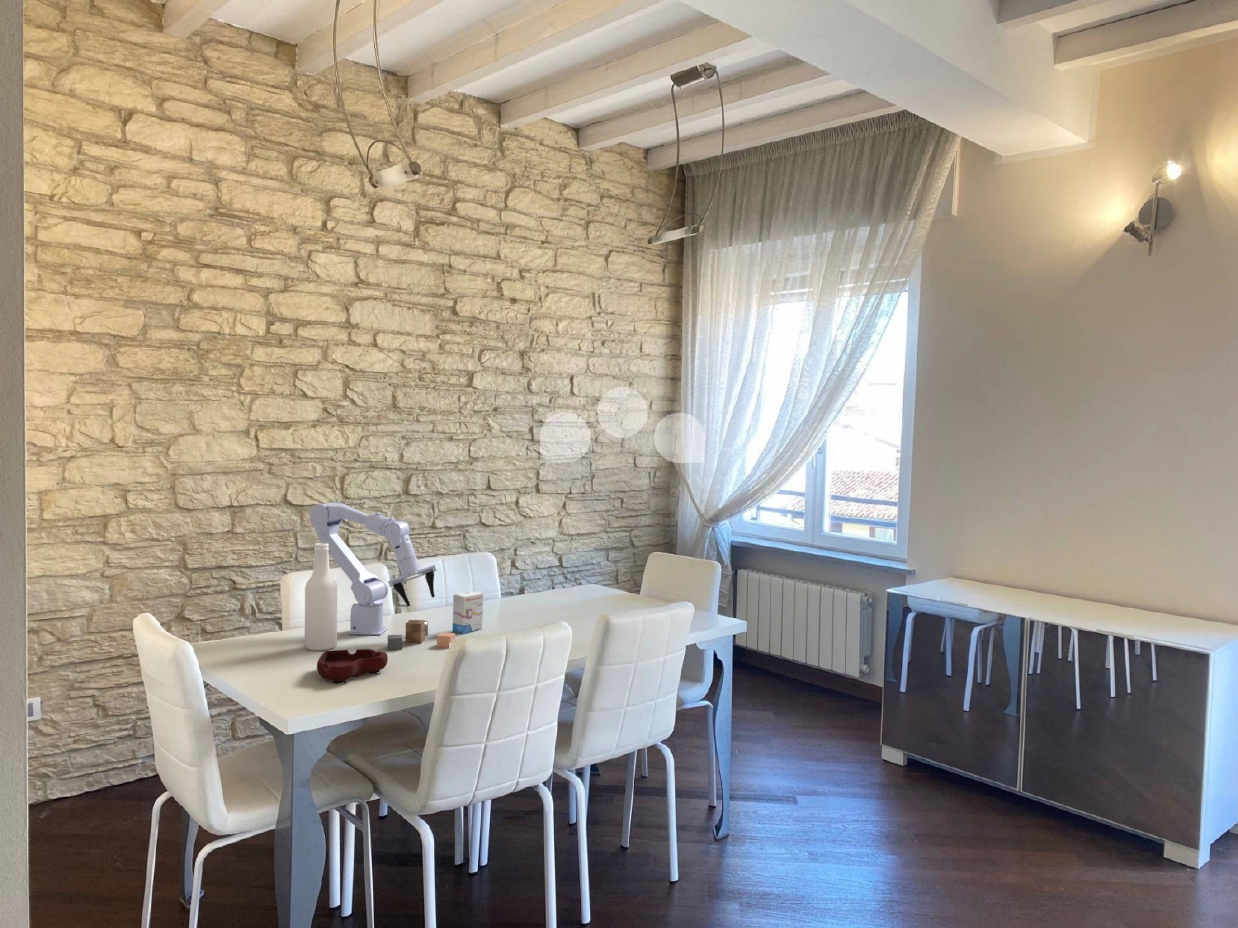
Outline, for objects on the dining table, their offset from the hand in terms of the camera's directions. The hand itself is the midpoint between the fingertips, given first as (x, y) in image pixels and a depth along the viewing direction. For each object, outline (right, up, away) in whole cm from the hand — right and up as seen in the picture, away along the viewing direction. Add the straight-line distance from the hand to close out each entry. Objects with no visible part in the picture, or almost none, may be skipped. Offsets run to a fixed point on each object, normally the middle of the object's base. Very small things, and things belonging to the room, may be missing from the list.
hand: (421, 601), depth 268 cm
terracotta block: (+9, -12, -8) cm, 17 cm away
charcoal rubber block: (-5, -12, -12) cm, 18 cm away
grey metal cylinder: (-1, -11, +4) cm, 12 cm away
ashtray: (-11, -13, -38) cm, 42 cm away
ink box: (+12, -11, +11) cm, 20 cm away
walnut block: (-1, -11, -4) cm, 12 cm away
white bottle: (-26, -11, -13) cm, 31 cm away
